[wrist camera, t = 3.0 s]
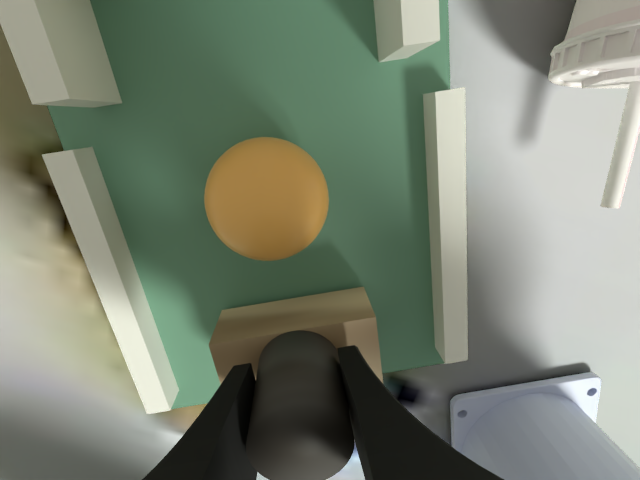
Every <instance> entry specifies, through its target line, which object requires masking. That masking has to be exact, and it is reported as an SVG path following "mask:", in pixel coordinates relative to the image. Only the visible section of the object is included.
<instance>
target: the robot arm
mask: <svg viewBox="0 0 640 480" xmlns="http://www.w3.org/2000/svg"><path fill="white" fill-rule="evenodd" d="M337 349H338V355H339V361H340V367H341V373H342V379H343V384H344V389H345V392H346V397H347V401H348V407H349V412H350V418H351V423H352V429H353V434H354V440H355V443H356V447H357V451H358V454H359V458H360V462H361V465H362V469H363V472H364V476H365V480H640V468H639V467H638V466H637V465H636V464H635V463H634V462H633V461H632V460H631V459H630V458H629V457H628V456H627V455H626V454H625V453H624V452H623V451H622V450H621V449H620V447H619V446H618V445H617V444H616V443H615V442H614V441H613V440H612V439H611V438H610V437H609V436H608V435H607V434H606V433H605V432H604V431H603V430H602V429H601V428H600V427H599V426H598V425H597V424H596V416H597V409H598V403H599V396H600V389H601V379H600V377H599V376H597V375H596V374H595V373H593V372H587V373H581V374H576V375H570V376H564V377H558V378H552V379H546V380H540V381H534V382H528V383H522V384H517V385H511V386H505V387H499V388H493V389H487V390H481V391H475V392H469V393H463V394H458V395H455V396H454V397H453V398H452V399H451V402H450V413H451V443H452V446H450V445H449V444H448V443H446V442H445V441H444V440H442V439H441V438H440V437H438V436H437V435H436V434H434V433H433V432H432V431H431V430H429V429H428V428H427V427H426V426H425V425H423V424H422V423H421V422H420V421H419V420H418V419H417V418H415V417H414V416H413V415H412V414H411V413H410V412H409V411H408V410H407V409H406V408H405V407H404V406H403V405H402V404H401V403H400V402H399V401H398V400H397V399H396V398H395V397H394V396H393V395H392V394H391V392H390V391H389V390H388V389H387V388H386V387H385V386H384V384H383V383H382V382H381V381H380V379H379V378H378V377H377V376H376V375H375V373H374V372H373V371H372V369H371V368H370V366H369V365H368V364H367V362H366V361H365V359H364V358H363V356H362V354H361V352H360V351H359V349H358V347H357V346H355V345H352V346H346V347H340V348H337ZM255 382H256V380H255V376H254V372H253V369H252V365H251V363H247V364H241V365H235V366H233V367H232V369H231V370H230V371H229V373H228V374H227V376H226V377H225V379H224V380H223V382H222V383H221V385H220V386H219V388H218V389H217V391H216V392H215V394H214V395H213V397H212V398H211V399H210V401H209V402H208V404H207V405H206V406H205V408H204V409H203V411H202V412H201V413H200V415H199V416H198V417H197V419H196V420H195V421H194V423H193V424H192V425H191V426H190V428H189V429H188V430H187V431H186V433H185V434H184V435H183V437H182V438H181V439H180V440H179V441H178V443H177V444H176V445H175V446H174V447H173V448H172V449H171V451H170V452H169V453H168V454H167V455H166V456H165V457H164V458H163V459H162V460H161V461H160V463H159V464H158V465H157V466H156V467H155V468H154V469H153V470H152V471H151V472H150V473H149V474H148V475H147V476H146V477H145V478H143V479H142V480H256V477H257V471H256V470H255V468H254V467H253V466H252V465H251V463H250V461H249V459H248V457H247V452H246V441H247V435H248V428H249V422H250V415H251V409H252V402H253V395H254V389H255ZM461 410H462V411H461ZM459 411H460V412H459Z"/></svg>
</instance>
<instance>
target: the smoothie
mask: <svg viewBox="0 0 640 480" xmlns="http://www.w3.org/2000/svg"><path fill="white" fill-rule="evenodd" d="M550 55H551V56H552V59H551V64H550V70H549V75H548V79H549V81H550V82H552V83H554V84H556V85H561V86H568V87H579V88H629V89H628V93H627V98H626V102H625V106H624V110H623V114H622V118H621V123H620V127H619V131H618V135H617V139H616V143H615V147H614V152H613V156H612V160H611V164H610V168H609V172H608V177H607V181H606V185H605V189H604V193H603V197H602V202H601V206H602V207H607V208H620V205H621V201H622V198H623V194H624V190H625V186H626V182H627V178H628V174H629V170H630V166H631V162H632V158H633V155H634V151H635V147H636V143H637V139H638V135H639V131H640V0H576V4H575V7H574V11H573V14H572V17H571V21H570V24H569V28H568V31H567V34H566V36H565V40H564V41H563V42H562V43H560V44H558V45H556V46H555V47H554V48H553V50H552V52H551V53H550Z"/></svg>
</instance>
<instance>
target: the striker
mask: <svg viewBox="0 0 640 480" xmlns="http://www.w3.org/2000/svg"><path fill="white" fill-rule="evenodd" d="M352 345H355V346H357V347H358V349H359V351H360V352H361V354H362V356H363V358H364V359H365V361H366V362H367V364H368V365H369V366H370V368H371V369H372V371H373V372H374V373H375V375H376V376H377V377H378V378H379V379H380V381H381V382H382V383H383V376H382V367H381V358H380V349H379V340H378V331H377V322H376V316H375V314H374V311H373V309H372V306H371V304H370V301H369V299H368V296H367V294H366V291H365V289H364V287H358V288H352V289H346V290H340V291H333V292H327V293H321V294H315V295H309V296H303V297H297V298H291V299H285V300H279V301H273V302H267V303H261V304H255V305H249V306H243V307H237V308H231V309H225V310H222V311H221V314H220V316H219V319H218V322H217V324H216V327H215V329H214V332H213V334H212V337H211V340H210V342H209V348H210V351H211V355H212V358H213V361H214V365H215V368H216V371H217V374H218V378H219V381H220V384H221V383H222V382H223V380H224V379H225V377H226V376H227V374H228V373H229V371H230V370H231V369H232V367H233V366H235V365H241V364H247V363H251V365H252V369H253V372H254V376H255V380H256V382H255V389H254V395H253V402H252V409H251V415H250V422H249V428H248V435H247V441H246V452H247V457H248V459H249V461H250V463H251V465H252V466H253V467H254V468H255V470H256V471H257V472H259V473H260V474H261V475H262V476H264V477H266V478H267V479H269V480H326V479H328V478H330V477H332V476H333V475H335V474H336V473H338V472H339V471H340V470H341V469H342V468H343V467H344V466H345V465H346V464H347V462H348V461H349V459H350V458H351V455H352V453H353V449H354V434H353V429H352V423H351V418H350V412H349V407H348V401H347V397H346V392H345V389H344V384H343V379H342V373H341V367H340V361H339V355H338V349H337V348H340V347H346V346H352Z"/></svg>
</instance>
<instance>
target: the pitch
mask: <svg viewBox="0 0 640 480" xmlns="http://www.w3.org/2000/svg"><path fill="white" fill-rule="evenodd" d="M0 24H1V27H2V30H3V32H4V35H5V37H6V40H7V42H8V45H9V47H10V50H11V52H12V55H13V57H14V60H15V62H16V65H17V67H18V70H19V72H20V75H21V77H22V80H23V82H24V85H25V87H26V90H27V92H28V95H29V98H30V100H31V103H32V105H47V107H48V110H49V112H50V115H51V117H52V120H53V123H54V125H55V128H56V131H57V133H58V136H59V138H60V141H61V144H62V146H63V149H64V151H61V152H55V153H48V154H42V157H43V159H44V162H45V164H46V167H47V169H48V172H49V174H50V177H51V179H52V181H53V184H54V186H55V189H56V191H57V194H58V196H59V199H60V201H61V204H62V206H63V208H64V211H65V213H66V216H67V218H68V221H69V223H70V226H71V228H72V231H73V233H74V236H75V238H76V240H77V243H78V245H79V248H80V250H81V253H82V255H83V258H84V260H85V263H86V265H87V267H88V270H89V272H90V275H91V277H92V280H93V282H94V285H95V287H96V290H97V292H98V295H99V297H100V299H101V302H102V304H103V307H104V309H105V312H106V314H107V317H108V319H109V322H110V324H111V327H112V329H113V331H114V334H115V336H116V339H117V341H118V344H119V346H120V349H121V351H122V354H123V356H124V358H125V361H126V363H127V366H128V368H129V371H130V373H131V376H132V378H133V381H134V383H135V386H136V388H137V390H138V393H139V395H140V398H141V400H142V403H143V405H144V408H145V410H146V413H147V414H152V413H158V412H164V411H170V410H171V409H175V408H181V407H187V406H193V405H199V404H205V403H208V402H209V401H210V399H211V398H212V397H213V395H214V394H215V392H216V391H217V389H218V388H219V386H220V385H221V384H220V381H219V378H218V374H217V371H216V368H215V365H214V361H213V358H212V355H211V351H210V348H209V342H210V340H211V337H212V334H213V332H214V329H215V327H216V324H217V322H218V319H219V316H220V314H221V311H222V310H225V309H231V308H237V307H243V306H249V305H255V304H261V303H267V302H273V301H279V300H285V299H291V298H297V297H303V296H309V295H315V294H321V293H327V292H333V291H340V290H346V289H352V288H358V287H364V289H365V291H366V294H367V296H368V299H369V301H370V304H371V306H372V309H373V311H374V314H375V316H376V322H377V331H378V340H379V349H380V358H381V367H382V374H383V373H389V372H395V371H401V370H407V369H413V368H419V367H425V366H431V365H437V364H443V363H445V364H449V363H455V362H461V361H467V360H468V309H467V214H466V119H465V87H463V88H456V89H450V64H449V22H448V0H0ZM257 137H274V138H279V139H283V140H286V141H289V142H291V143H293V144H295V145H297V146H299V147H300V148H302V149H303V150H305V151H306V152H307V153H308V154H309V155H310V156H311V157H312V158H313V159H314V160H315V161H316V163H317V164H318V166H319V167H320V169H321V171H322V173H323V175H324V177H325V180H326V183H327V188H328V195H329V206H328V212H327V217H326V220H325V223H324V225H323V227H322V229H321V231H320V232H319V234H318V235H317V237H316V238H315V239H314V240H313V242H312V243H311V244H309V245H308V246H307V247H306V248H305V249H303V250H302V251H300V252H299V253H297V254H295V255H293V256H290V257H288V258H285V259H281V260H274V261H261V260H254V259H250V258H247V257H245V256H242V255H240V254H238V253H236V252H234V251H233V250H231V249H230V248H229V247H227V246H226V245H225V244H224V243H223V242H222V241H221V240H220V239H219V237H218V236H217V235H216V233H215V232H214V230H213V229H212V227H211V225H210V223H209V220H208V217H207V214H206V210H205V203H204V194H205V186H206V182H207V178H208V176H209V173H210V171H211V169H212V167H213V165H214V164H215V163H216V161H217V160H218V159H219V158H220V157H221V156H222V155H223V154H224V153H225V152H226V151H227V150H228V149H230V148H231V147H232V146H234V145H236V144H238V143H239V142H242V141H245V140H247V139H252V138H257Z"/></svg>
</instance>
